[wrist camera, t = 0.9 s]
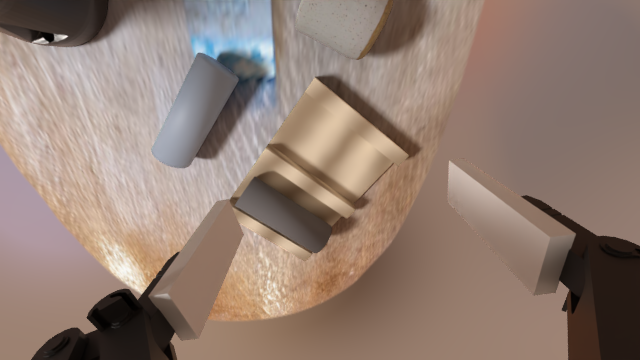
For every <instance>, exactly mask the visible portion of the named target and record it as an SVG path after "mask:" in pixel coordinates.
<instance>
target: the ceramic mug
mask: <svg viewBox="0 0 640 360" xmlns="http://www.w3.org/2000/svg"><path fill="white" fill-rule="evenodd" d="M392 6H393V0H301V3H300V6H299V10H298V15H297V17H296V23H295V28H296V30H297V31H299V32H301V33H303V34H305V35H307V36H309V37H310V38H312V39H314V40H316V41H318V42H320V43H321V44H323V45H325V46H327V47H329V48H331V49H333V50H335V51H336V52H338V53H340V54H342V55H343V56H345V57H348V58H351V59H355V60H359V59H361V58H363V57H364V56H365V55H366V54H367V53H368V52H369V50H370V49H371V47H372V46H373V44H374V43H375V41H376V40H377V38H378V36H379V34H380V32H381V31H382V29H383V27H384V25H385V23H386V21H387V18H388V16H389V14H390V12H391V9H392Z"/></svg>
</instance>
